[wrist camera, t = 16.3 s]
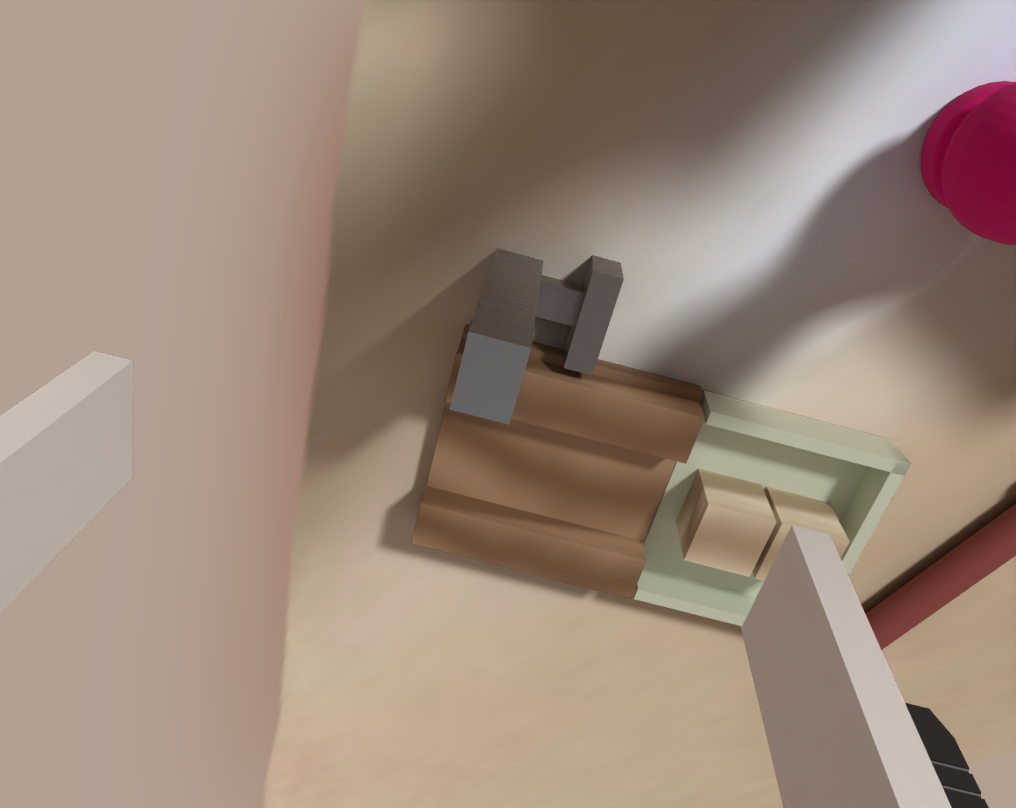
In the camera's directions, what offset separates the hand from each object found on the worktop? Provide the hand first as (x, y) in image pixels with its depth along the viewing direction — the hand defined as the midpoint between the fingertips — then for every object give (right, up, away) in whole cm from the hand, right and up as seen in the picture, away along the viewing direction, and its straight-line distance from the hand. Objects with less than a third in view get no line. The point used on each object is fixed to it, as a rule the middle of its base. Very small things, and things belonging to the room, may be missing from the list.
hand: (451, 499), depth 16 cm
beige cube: (+14, -4, +33) cm, 36 cm away
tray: (+16, -5, +33) cm, 38 cm away
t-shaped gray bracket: (+3, +8, +28) cm, 30 cm away
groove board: (+4, -1, +33) cm, 33 cm away
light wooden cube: (+18, -5, +33) cm, 38 cm away
